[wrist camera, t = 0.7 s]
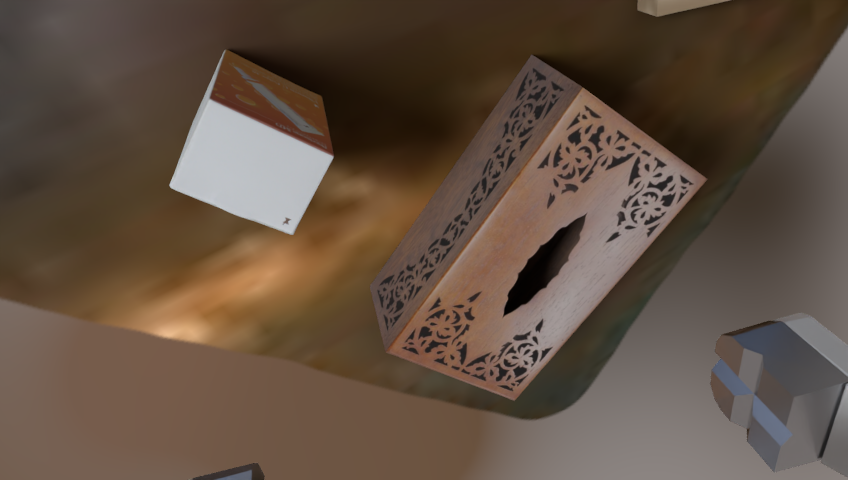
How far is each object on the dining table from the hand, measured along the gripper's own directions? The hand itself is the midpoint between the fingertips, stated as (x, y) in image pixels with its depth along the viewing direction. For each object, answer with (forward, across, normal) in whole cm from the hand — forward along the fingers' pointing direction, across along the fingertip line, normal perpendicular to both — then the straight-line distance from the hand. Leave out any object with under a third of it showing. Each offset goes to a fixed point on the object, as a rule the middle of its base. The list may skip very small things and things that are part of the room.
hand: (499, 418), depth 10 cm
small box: (+41, +7, +6) cm, 42 cm away
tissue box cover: (+41, -12, +21) cm, 48 cm away
